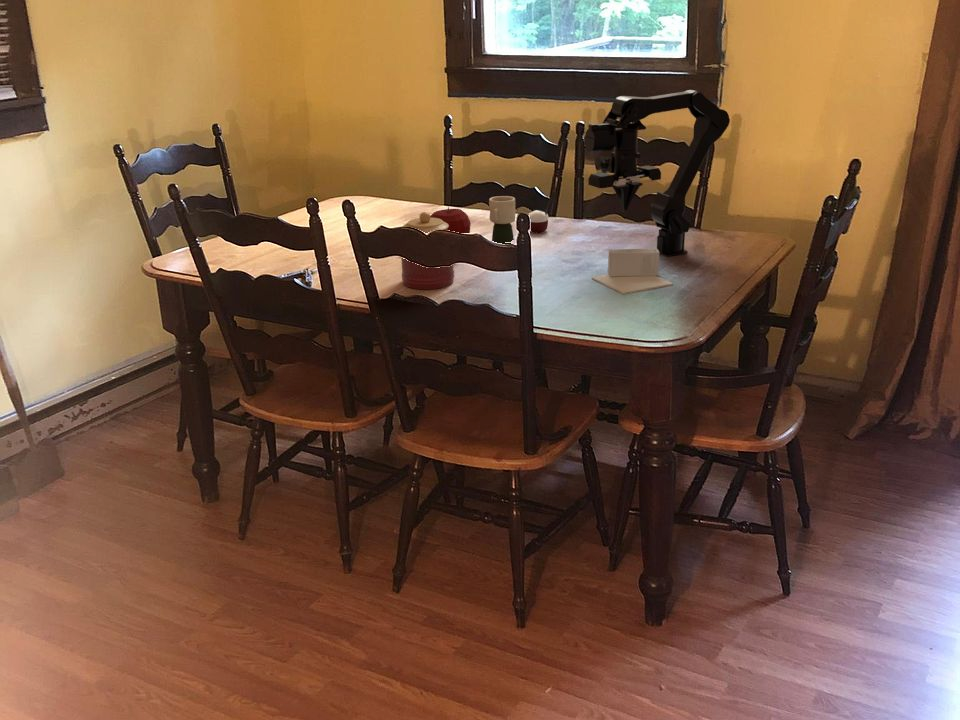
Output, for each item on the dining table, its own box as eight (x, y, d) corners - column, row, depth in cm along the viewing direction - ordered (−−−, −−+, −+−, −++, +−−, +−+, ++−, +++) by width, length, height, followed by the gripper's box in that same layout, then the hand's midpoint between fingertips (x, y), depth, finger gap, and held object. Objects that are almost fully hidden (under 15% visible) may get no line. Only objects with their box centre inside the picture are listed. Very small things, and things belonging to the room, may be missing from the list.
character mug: (498, 238, 267) (497, 193, 262) (522, 240, 264) (521, 195, 259) (483, 248, 257) (482, 202, 252) (507, 251, 255) (506, 204, 250)
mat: (639, 270, 235) (639, 268, 235) (672, 284, 223) (672, 283, 223) (591, 278, 230) (591, 277, 230) (623, 294, 218) (623, 292, 218)
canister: (465, 281, 231) (462, 211, 224) (426, 294, 223) (422, 221, 216) (430, 271, 240) (426, 203, 233) (391, 283, 231) (386, 213, 225)
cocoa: (520, 234, 272) (517, 193, 267) (529, 228, 277) (526, 188, 272) (550, 236, 268) (547, 194, 263) (559, 230, 273) (556, 189, 268)
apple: (454, 246, 260) (452, 199, 255) (480, 255, 252) (479, 206, 247) (419, 255, 253) (416, 207, 248) (444, 264, 245) (442, 214, 240)
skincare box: (657, 247, 231) (608, 247, 231) (660, 252, 226) (610, 252, 227) (655, 271, 233) (607, 271, 233) (658, 277, 229) (609, 277, 229)
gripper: (637, 140, 244) (635, 199, 250) (576, 148, 236) (576, 209, 242) (663, 146, 235) (661, 207, 241) (601, 154, 227) (600, 217, 233)
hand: (624, 210), depth 240 cm, fingers closed
